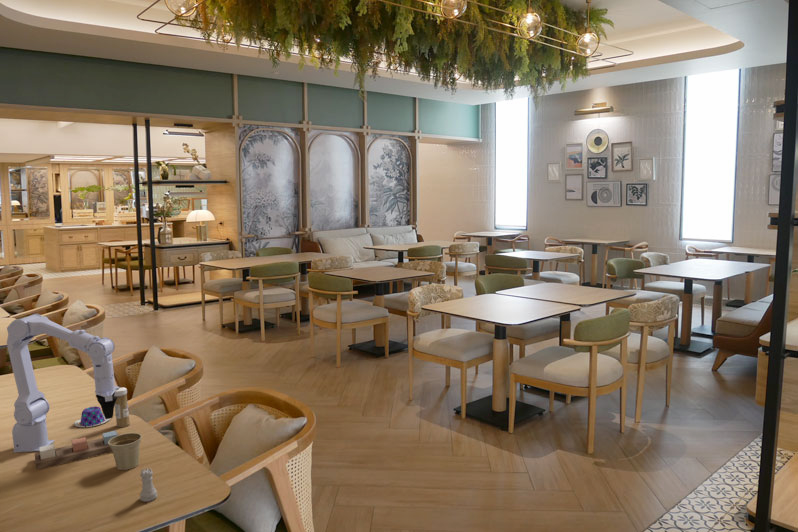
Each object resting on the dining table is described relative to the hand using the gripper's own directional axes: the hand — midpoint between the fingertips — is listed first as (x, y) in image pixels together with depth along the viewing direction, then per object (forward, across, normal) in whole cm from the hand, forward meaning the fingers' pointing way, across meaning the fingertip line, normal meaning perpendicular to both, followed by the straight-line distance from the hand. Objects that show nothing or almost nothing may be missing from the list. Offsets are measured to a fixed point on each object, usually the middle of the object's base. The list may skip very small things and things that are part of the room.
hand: (108, 416), depth 201 cm
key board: (+10, 0, +9) cm, 14 cm away
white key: (+9, 0, +18) cm, 20 cm away
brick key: (+9, 0, +9) cm, 13 cm away
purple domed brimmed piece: (+11, +29, +3) cm, 31 cm away
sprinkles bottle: (+11, +18, -6) cm, 22 cm away
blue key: (+9, 0, 0) cm, 9 cm away
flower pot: (+11, -19, -2) cm, 22 cm away
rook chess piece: (+11, -44, -4) cm, 45 cm away
